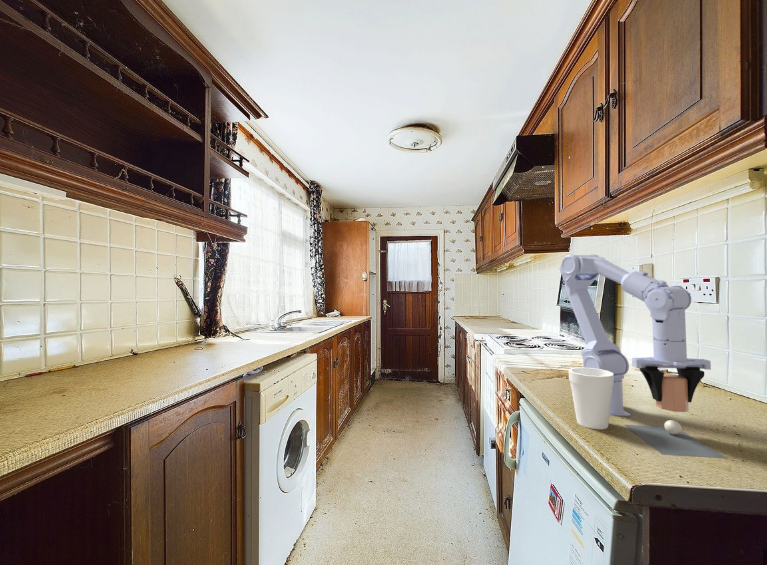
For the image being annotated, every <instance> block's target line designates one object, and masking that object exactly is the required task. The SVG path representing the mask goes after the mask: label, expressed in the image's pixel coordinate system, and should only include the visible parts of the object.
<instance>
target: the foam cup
mask: <svg viewBox="0 0 767 565" xmlns="http://www.w3.org/2000/svg"><path fill="white" fill-rule="evenodd" d="M568 381H569V383H570V389H571V394H572V399H573V401H572V402H573V407H574V411H575V417H576V422H577V424H578V425H579V426H581V427H584V428H588V429H592V430H605V429H607V428H609V424H610V423H609V422H610V415H609V414H610V405H611V397H612V388H613V385H614V375H613V373H612V372H609V371H606V370H602V369H595V368H584V367H572V368H569V369H568Z"/></svg>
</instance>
